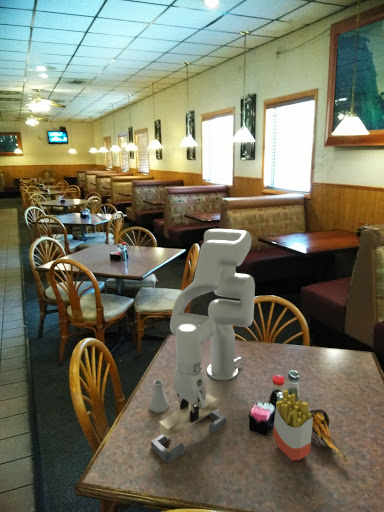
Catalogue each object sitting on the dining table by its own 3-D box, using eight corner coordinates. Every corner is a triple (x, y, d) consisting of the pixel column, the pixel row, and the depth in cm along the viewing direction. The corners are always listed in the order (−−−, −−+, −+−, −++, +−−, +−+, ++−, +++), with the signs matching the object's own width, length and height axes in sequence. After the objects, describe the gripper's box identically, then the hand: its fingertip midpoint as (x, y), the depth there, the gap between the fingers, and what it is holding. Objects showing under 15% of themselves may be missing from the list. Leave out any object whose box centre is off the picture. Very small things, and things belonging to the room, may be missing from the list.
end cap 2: (211, 433, 118) (211, 426, 117) (195, 420, 124) (195, 414, 123) (225, 423, 122) (226, 417, 121) (209, 411, 128) (209, 405, 127)
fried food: (317, 405, 123) (364, 422, 107) (313, 440, 121) (360, 462, 105) (296, 403, 119) (341, 419, 103) (292, 439, 117) (337, 462, 101)
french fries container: (298, 467, 105) (302, 413, 100) (271, 442, 114) (274, 392, 109) (309, 460, 107) (313, 407, 102) (282, 437, 116) (285, 387, 111)
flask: (166, 414, 127) (165, 389, 124) (146, 412, 128) (144, 387, 126) (171, 401, 134) (170, 377, 131) (152, 399, 135) (151, 375, 133)
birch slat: (208, 403, 123) (208, 394, 122) (216, 409, 120) (216, 399, 119) (159, 432, 111) (159, 422, 110) (168, 439, 108) (167, 429, 107)
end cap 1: (168, 437, 117) (168, 430, 116) (184, 451, 111) (184, 445, 110) (151, 447, 113) (150, 441, 112) (167, 463, 107) (166, 456, 106)
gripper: (217, 371, 107) (216, 425, 111) (180, 350, 119) (181, 399, 124) (197, 381, 102) (198, 437, 107) (161, 358, 114) (163, 409, 119)
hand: (189, 416), depth 115 cm, fingers closed on birch slat, 4 cm apart
